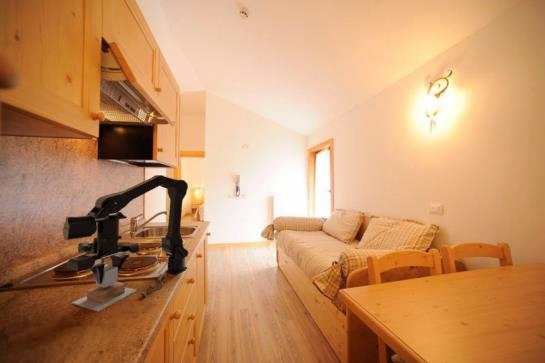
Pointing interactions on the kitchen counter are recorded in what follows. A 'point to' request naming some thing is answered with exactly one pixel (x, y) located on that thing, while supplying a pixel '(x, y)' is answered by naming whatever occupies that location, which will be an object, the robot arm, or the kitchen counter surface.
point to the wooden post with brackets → (153, 286)
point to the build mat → (98, 307)
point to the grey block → (109, 276)
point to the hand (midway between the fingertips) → (107, 280)
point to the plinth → (105, 292)
